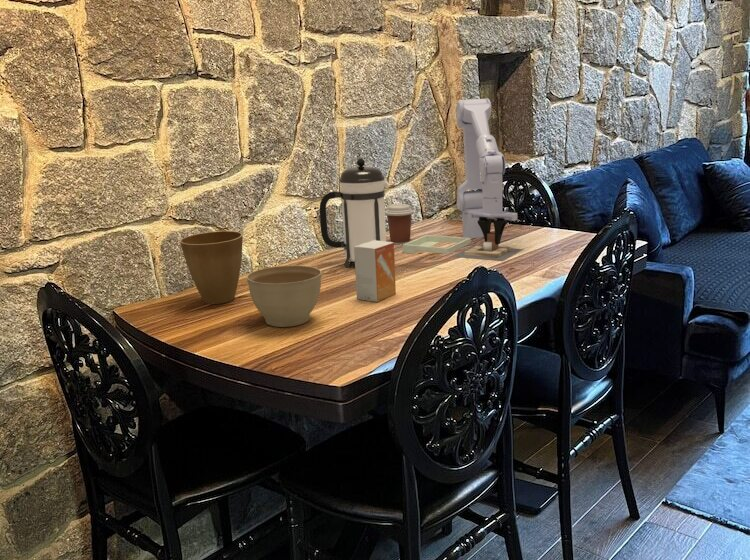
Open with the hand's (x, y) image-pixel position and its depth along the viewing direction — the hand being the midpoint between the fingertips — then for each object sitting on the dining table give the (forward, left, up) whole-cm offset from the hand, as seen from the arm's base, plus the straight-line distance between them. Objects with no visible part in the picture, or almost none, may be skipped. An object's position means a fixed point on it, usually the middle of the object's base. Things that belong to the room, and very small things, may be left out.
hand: (492, 243), depth 211 cm
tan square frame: (+4, 0, -2) cm, 4 cm away
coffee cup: (-4, -34, -3) cm, 34 cm away
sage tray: (+1, -18, -3) cm, 18 cm away
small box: (+52, -8, -3) cm, 53 cm away
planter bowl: (+76, -16, -3) cm, 78 cm away
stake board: (+4, 0, -3) cm, 5 cm away
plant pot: (+70, -43, -3) cm, 82 cm away
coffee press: (+25, -30, -3) cm, 39 cm away
